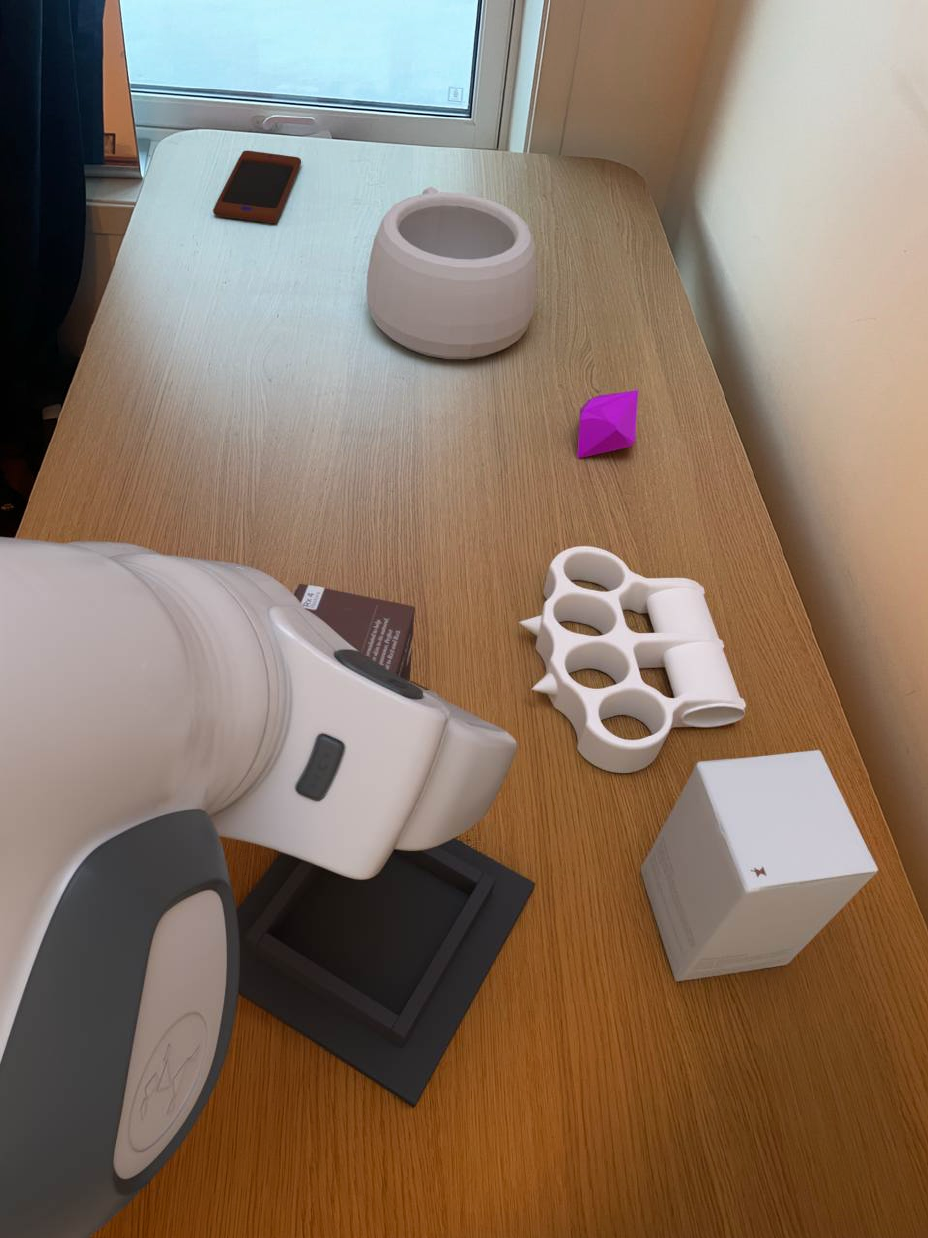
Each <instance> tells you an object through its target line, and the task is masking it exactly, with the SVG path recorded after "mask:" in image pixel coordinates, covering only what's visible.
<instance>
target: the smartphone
mask: <svg viewBox="0 0 928 1238" xmlns="http://www.w3.org/2000/svg"><path fill="white" fill-rule="evenodd" d="M301 164H302V159H301V158H300V157H298V156H294V155H293V156H291V155H283V154H278V153H277V154H276V153H270V152H262V151H255V150H254V151H253V150H246V149H245V150H243V151H242V152H241V154H240V155H239V157H238V159H237V161H236V163H235V165H234V167H233V169H232V171H231V173H230V174H229V177H228V178H227V181H226V183H225V185H224V187H223V188H222V190H221V193H220V194H219V196H218V198H217V201H216V202H215V205H214V207H213V208H212V209H213V210H212V213H213V215H214V216H217V217H221V218H229V219H235V220H236V219H237V220H244V221H251V222H260V223H268V224H276V223H278V220H279V218H280V216H281V214H282V212H283V209H284V206H285V204H286V202H287V200H288V197H289V195H290V193H291V190H292V187H293V185H294V182H295V180H296V178H297V175H298V173H299V170H300V168H301Z"/></svg>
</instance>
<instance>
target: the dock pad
mask: <svg viewBox="0 0 928 1238" xmlns="http://www.w3.org/2000/svg"><path fill="white" fill-rule="evenodd" d="M535 887H536V883H535V882H534V881H533V880H531V879H529V878H527V877H525V876H524V875H522V874H520V873H518V872H516V871H514V870H513V869H511V868H509V867H508V866H506V865H504V864H502V863H500V862H499V861H497V860H495V859H493V858H491V857H490V856H488V855H486V854H484V853H482V852H481V851H479V850H477V849H475V848H473V847H472V846H470V845H468V844H467V843H464V842H463V841H461V840H460V839H458V838H457V837H455V838H453V839H452V840H449V841H447V842H445V843H443V844H441V845H439V846H436V847H433V848H430V849H426V850H418V851H405V850H397V849H394V850H393V852H392V854H391V855H390V857H389V858H388V860H387V862H386V863H385V865H384V866H383V868H382V869H381V871H380V872H379V873H378V874H377V875H376V876H374V877H372V878H370V879H365V880H358V879H352V878H348V877H345V876H342V875H339V874H337V873H334V872H332V871H329V870H327V869H324V868H321V867H319V866H316V865H313V864H311V863H308V862H306V861H303V860H300V859H298V858H295V857H292V856H289V855H287V854H284V853H281V852H279V854H277V856H276V858H275V859H274V860H273V862H271V864H270V865H269V867H268V868H267V869H266V871H265V872H264V873H263V875H262V876H261V877H260V878H259V880H258V881H257V882H256V884H255V885H254V887H253V888H252V889H251V891H250V892H249V893H248V894H247V895H246V897H245V898H244V899H243V901H242V902H241V904H240V905H239V906H238V908H236V911H237V919H238V928H239V942H240V978H239V990H238V995H240V996H242V997H243V998H245V999H247V1000H248V1001H250V1002H251V1003H252V1004H254V1005H256V1006H257V1007H259V1008H260V1009H262V1010H263V1011H265V1012H266V1013H267V1014H269V1015H271V1016H272V1017H274V1018H276V1019H277V1020H278V1021H280V1022H282V1023H283V1024H284V1025H286V1026H287V1027H289V1028H290V1029H292V1030H294V1031H295V1032H297V1033H299V1034H300V1035H302V1036H303V1037H305V1038H306V1039H308V1040H309V1041H310V1042H312V1043H314V1044H315V1045H317V1046H318V1047H320V1048H321V1049H323V1050H325V1051H326V1052H328V1053H329V1054H331V1056H333V1057H336V1059H338V1060H339V1061H341V1062H342V1063H344V1064H346V1065H347V1066H349V1067H350V1068H352V1069H353V1070H355V1071H357V1072H358V1073H360V1074H361V1075H363V1076H364V1077H365V1078H367V1079H369V1080H371V1081H372V1082H373V1083H375V1084H376V1085H377V1086H379V1087H381V1088H382V1089H384V1090H385V1091H387V1092H389V1093H390V1094H392V1095H393V1096H395V1097H396V1098H397V1099H399V1100H401V1101H402V1102H404V1103H405V1104H407V1105H408V1106H410V1107H411V1108H413V1109H414V1108H416V1106H417V1104H418V1102H419V1101H420V1098H421V1096H422V1095H423V1093H424V1091H425V1090H426V1087H427V1085H428V1084H429V1082H430V1080H431V1078H432V1077H433V1075H434V1073H435V1071H436V1069H437V1068H438V1065H439V1064H440V1062H441V1060H442V1058H443V1056H444V1055H445V1052H446V1051H447V1049H448V1047H449V1045H450V1043H451V1042H452V1041H453V1038H454V1036H455V1034H456V1032H457V1030H458V1028H460V1025H461V1024H462V1021H463V1020H464V1018H465V1016H466V1014H467V1013H468V1010H469V1009H470V1007H471V1005H472V1003H473V1001H474V999H475V998H476V996H477V994H478V992H479V990H480V988H481V987H482V985H483V983H484V981H485V979H486V978H487V976H488V974H489V972H490V971H491V969H492V967H493V966H494V963H495V962H496V958H497V957H498V956H499V953H500V952H501V950H502V948H503V946H504V944H505V943H506V940H507V939H508V937H509V935H510V933H511V931H512V930H513V929H514V926H515V924H516V923H517V920H518V919H519V917H520V915H521V913H522V911H523V910H524V907H526V904H527V902H528V901H529V899H530V897H531V895H532V893H533V892H534V889H535Z"/></svg>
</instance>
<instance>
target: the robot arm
mask: <svg viewBox="0 0 928 1238" xmlns="http://www.w3.org/2000/svg"><path fill="white" fill-rule="evenodd" d="M293 594H294V593H293V592H292V591H291V590H290V589H289V588H287V587H286V586H285V585H284V584H282V583H281V582H280V581H279V580H277V579H276V578H274V577H273V576H271V575H269V574H267V573H265V572H263V571H261V570H259V569H258V568H254V567H252V566H249V565H245V564H241V563H238V562H237V563H236V562H231V561H222V560H213V559H207V558H206V559H204V558H195V557H187V556H180V555H169V554H162V553H160V552H157V551H155V550H153V549H150V548H148V547H144V546H141V545H138V544H133V543H130V542H129V543H128V542H117V541H101V540H100V541H99V540H98V541H97V540H96V541H95V540H80V541H79V540H77V541H69V542H66V543H63V542H56V541H49V540H40V539H30V538H19V537H5V536H0V1238H91V1236H93V1235H94V1234H95V1233H97V1232H98V1231H99V1230H100V1229H102V1228H104V1226H106V1225H107V1224H108V1223H109V1222H110V1221H112V1220H113V1219H114V1218H115V1217H116V1216H117V1215H118V1214H120V1212H121V1211H123V1210H124V1209H125V1208H126V1207H127V1206H128V1205H129V1204H130V1203H131V1202H132V1201H133V1200H134V1199H135V1198H136V1197H137V1196H138V1195H139V1194H140V1193H141V1192H142V1191H143V1190H144V1188H146V1187H147V1185H148V1184H149V1183H150V1182H151V1181H153V1179H154V1178H155V1177H156V1175H157V1174H159V1173H160V1171H161V1170H162V1169H163V1168H164V1167H165V1166H166V1165H167V1163H168V1162H169V1161H170V1160H171V1159H172V1158H173V1156H174V1155H175V1153H176V1152H177V1151H178V1149H179V1148H180V1147H181V1146H182V1144H183V1143H184V1142H185V1140H186V1138H187V1137H188V1135H189V1134H190V1133H191V1131H192V1130H193V1128H194V1127H195V1125H196V1123H197V1121H198V1120H199V1118H200V1116H201V1114H202V1113H203V1111H204V1109H205V1107H206V1106H207V1103H208V1102H209V1100H210V1098H211V1096H212V1094H213V1092H214V1090H215V1088H216V1086H217V1083H218V1081H219V1078H220V1076H221V1073H222V1070H223V1068H224V1065H225V1062H226V1058H227V1055H228V1052H229V1048H230V1044H231V1039H232V1035H233V1029H234V1024H235V1018H236V1013H237V1006H238V1000H239V999H238V998H239V993H238V990H239V978H240V942H239V928H238V919H237V911H236V910H237V905H236V900H235V896H234V891H233V888H232V883H231V877H230V873H229V867H228V863H227V860H226V855H225V850H224V847H223V843H222V840H221V838H225V839H226V838H227V839H232V840H237V841H242V842H245V843H248V844H254V845H257V846H260V847H264V848H267V849H270V850H271V851H276V852H278V853H284V854H287V855H289V856H292V857H295V858H298V859H300V860H303V861H306V862H308V863H311V864H313V865H316V866H319V867H321V868H324V869H327V870H329V871H332V872H334V873H337V874H339V875H342V876H345V877H348V878H352V879H358V880H365V879H370V878H372V877H374V876H376V875H377V874H378V873H379V872H380V871H381V869H382V868H383V866H384V865H385V863H386V862H387V860H388V858H389V857H390V855H391V854H392V852H393V850H394V849H397V850H405V851H418V850H426V849H430V848H433V847H436V846H439V845H441V844H443V843H445V842H447V841H449V840H452V839H453V838H457V837H458V836H460V835H462V834H464V833H466V832H467V831H468V830H470V829H471V828H473V827H475V826H476V825H477V824H479V822H480V821H482V820H483V819H484V818H485V817H486V815H487V814H488V812H489V811H490V809H491V807H492V806H493V804H494V801H495V800H496V798H497V796H498V794H499V792H500V790H501V788H502V786H503V784H504V782H505V779H506V778H507V776H508V773H509V771H510V769H511V766H512V763H514V759H515V756H516V754H517V751H518V743H517V740H516V739H515V738H514V737H513V736H512V735H511V734H510V733H509V732H508V731H506V730H505V729H503V728H501V727H499V726H497V725H495V724H493V723H491V722H489V721H487V720H485V719H483V718H481V717H479V716H477V715H475V714H473V713H471V712H469V711H467V710H465V709H464V708H462V707H459V706H457V705H455V704H454V703H451V702H450V701H448V700H445V699H444V698H442V697H440V694H439V693H437V692H435V691H433V690H431V689H429V688H428V687H425V686H424V685H421V684H419V683H417V682H416V681H413V680H412V681H407V680H405V679H403V678H401V677H400V676H398V675H396V674H395V673H393V672H391V671H389V670H388V669H386V668H385V667H383V666H382V665H380V664H378V663H377V662H375V661H374V660H373V659H371V658H370V657H368V656H367V655H365V654H363V653H361V652H359V651H358V650H356V649H355V648H354V647H353V646H351V645H350V644H349V643H348V642H346V641H345V640H344V639H343V638H342V637H341V636H339V635H338V634H337V633H336V632H335V631H334V630H333V629H332V628H331V627H329V626H328V625H327V624H326V623H325V622H324V621H322V620H321V619H320V618H319V617H317V616H316V615H314V614H313V613H311V612H310V611H308V610H306V609H305V608H304V606H303V605H302V604H301V603H300V601H299V600H298V599H297V598H296V597H295V596H294V595H293ZM220 837H221V838H220Z"/></svg>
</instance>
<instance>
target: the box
mask: <svg viewBox="0 0 928 1238" xmlns="http://www.w3.org/2000/svg"><path fill="white" fill-rule="evenodd" d="M292 594H293V595H294V596H295V597H296V598H297V599H298V600H299V601H300V603H301V604H302V605H303V606H304V608H305V609H306V610H308V611H310V612H311V613H313V614H314V615H316V616H317V617H319V618H320V619H321V620H322V621H324V622H325V623H326V624H327V625H328V626H329V627H331V628H332V629H333V630H334V631H335V632H336V633H337V634H338V635H339V636H341V637H342V638H343V639H344V640H345V641H346V642H348V643H349V644H350V645H351V646H353V647H354V648H355V649H356V650H358V651H359V652H361V653H363V654H365V655H367V656H368V657H370V658H371V659H373V660H374V661H375V662H377V663H378V664H380V665H382V666H383V667H385V668H386V669H388V670H389V671H391V672H393V673H395V674H396V675H398V676H400V677H401V678H403V679H405V680H407V681H409V682H411V681H410V680H411V671H412V668H411V667H412V655H413V654H412V653H413V652H412V651H413V643H414V642H413V640H414V639H413V638H414V622H415V613H416V607H415V606H414V605H410V604H405V603H400V602H395V601H390V600H385V599H381V598H377V597H376V598H375V597H370V596H366V595H365V596H364V595H361V594H360V595H359V594H355V593H350V592H345V591H341V590H336V589H332V588H327V587H323V586H318V585H312V584H304V583H298V584H297V585H296V586H295V589H294V592H293V593H292Z"/></svg>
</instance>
